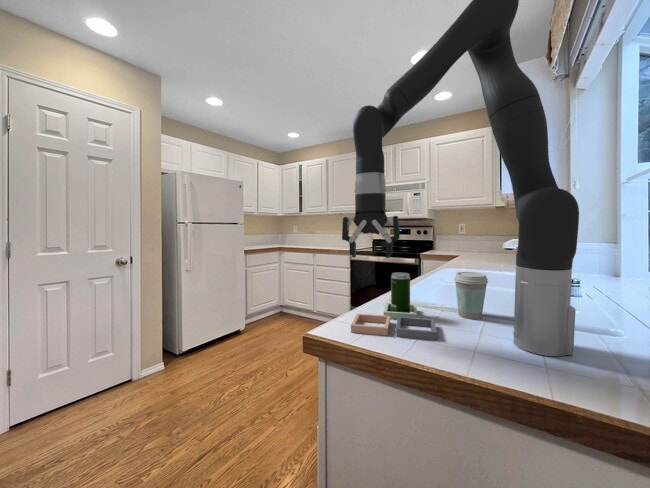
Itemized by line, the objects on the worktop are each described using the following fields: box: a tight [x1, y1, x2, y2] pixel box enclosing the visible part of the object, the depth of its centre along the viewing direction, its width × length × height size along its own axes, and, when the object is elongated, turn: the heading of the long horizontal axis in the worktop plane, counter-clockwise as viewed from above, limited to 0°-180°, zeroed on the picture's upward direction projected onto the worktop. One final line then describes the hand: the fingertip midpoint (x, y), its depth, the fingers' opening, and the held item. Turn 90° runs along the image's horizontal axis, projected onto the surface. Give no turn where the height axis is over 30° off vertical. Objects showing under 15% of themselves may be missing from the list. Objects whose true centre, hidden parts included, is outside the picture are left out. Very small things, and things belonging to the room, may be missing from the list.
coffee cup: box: [453, 271, 489, 320], centre depth 79 cm, size 8×8×12 cm
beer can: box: [390, 271, 411, 313], centre depth 82 cm, size 5×5×12 cm
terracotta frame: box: [350, 313, 391, 336], centre depth 73 cm, size 9×9×2 cm
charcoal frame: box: [395, 317, 438, 341], centre depth 70 cm, size 9×9×2 cm
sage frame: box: [383, 302, 418, 320], centre depth 82 cm, size 9×9×2 cm
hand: (370, 257), depth 71 cm, fingers open, 8 cm apart
